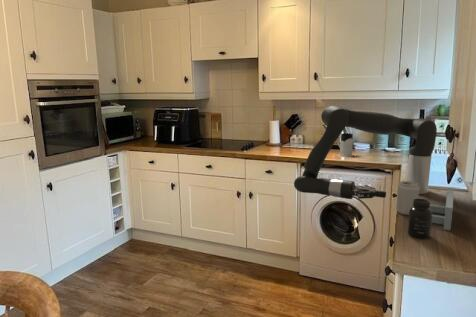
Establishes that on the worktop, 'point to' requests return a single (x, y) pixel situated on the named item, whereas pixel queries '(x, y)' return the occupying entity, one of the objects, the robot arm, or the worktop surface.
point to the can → (406, 196)
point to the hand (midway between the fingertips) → (385, 194)
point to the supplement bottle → (420, 219)
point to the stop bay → (444, 211)
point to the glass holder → (346, 145)
